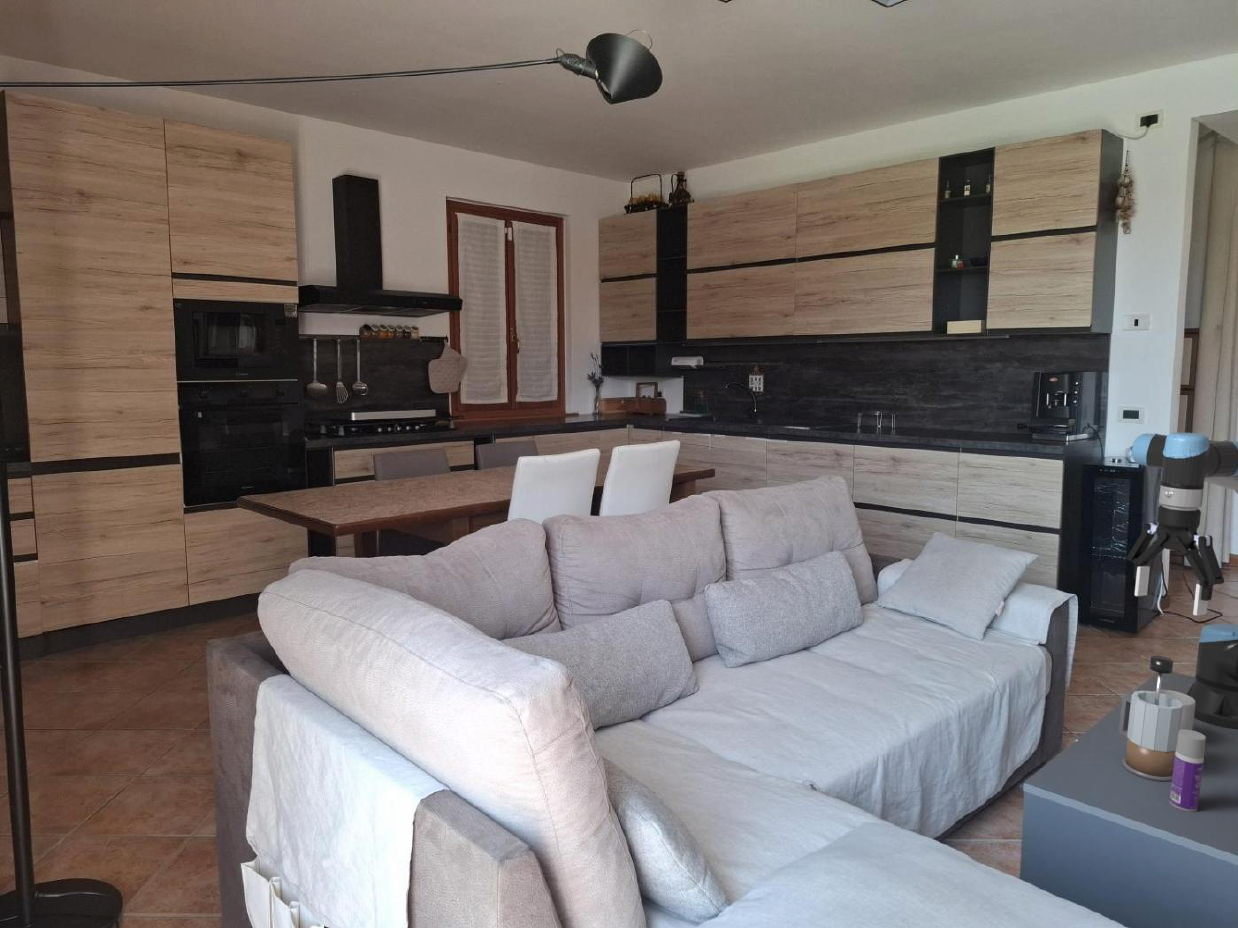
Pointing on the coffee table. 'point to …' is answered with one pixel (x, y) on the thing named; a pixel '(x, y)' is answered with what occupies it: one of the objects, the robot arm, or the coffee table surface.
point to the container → (1187, 770)
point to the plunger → (1160, 671)
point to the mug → (1184, 708)
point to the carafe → (1150, 734)
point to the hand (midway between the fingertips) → (1169, 604)
